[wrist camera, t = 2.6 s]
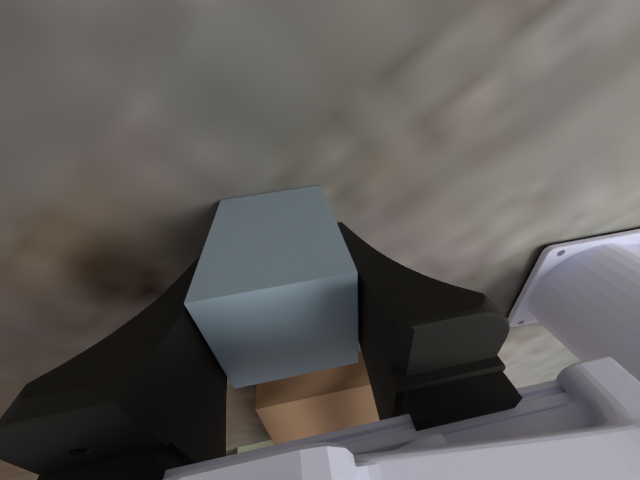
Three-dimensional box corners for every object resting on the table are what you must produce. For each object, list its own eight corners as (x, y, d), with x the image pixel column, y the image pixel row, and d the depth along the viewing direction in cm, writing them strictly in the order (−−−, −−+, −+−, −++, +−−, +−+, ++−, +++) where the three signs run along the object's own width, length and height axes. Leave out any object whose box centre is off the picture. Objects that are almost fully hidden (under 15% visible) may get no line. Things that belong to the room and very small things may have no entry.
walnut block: (405, 336, 21) (423, 372, 18) (394, 402, 28) (406, 435, 25) (257, 367, 20) (255, 409, 17) (283, 427, 27) (285, 464, 24)
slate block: (320, 184, 12) (357, 271, 7) (328, 260, 14) (358, 362, 9) (220, 200, 11) (183, 303, 6) (246, 274, 14) (234, 388, 9)
